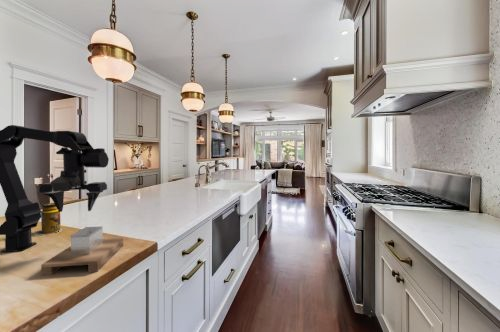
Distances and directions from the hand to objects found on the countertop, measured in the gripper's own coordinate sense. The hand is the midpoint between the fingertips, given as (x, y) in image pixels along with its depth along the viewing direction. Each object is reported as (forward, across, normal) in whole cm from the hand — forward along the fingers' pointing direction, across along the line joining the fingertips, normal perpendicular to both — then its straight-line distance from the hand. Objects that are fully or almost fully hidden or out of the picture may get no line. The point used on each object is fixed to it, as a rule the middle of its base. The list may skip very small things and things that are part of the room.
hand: (75, 211), depth 78 cm
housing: (+10, +9, -10) cm, 17 cm away
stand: (+13, +9, -10) cm, 19 cm away
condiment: (+13, -21, +19) cm, 31 cm away
